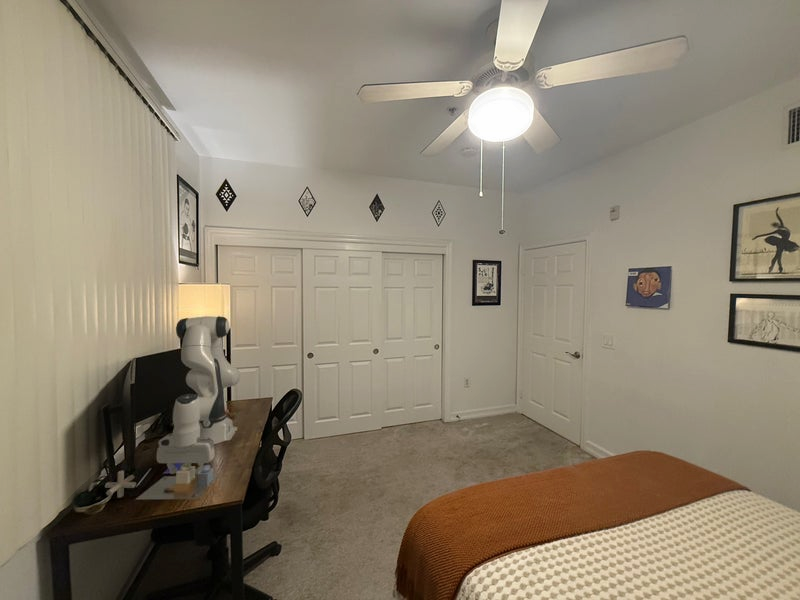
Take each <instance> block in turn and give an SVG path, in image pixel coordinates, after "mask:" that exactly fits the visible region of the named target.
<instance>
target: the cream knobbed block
mask: <svg viewBox="0 0 800 600" xmlns="http://www.w3.org/2000/svg"><path fill="white" fill-rule="evenodd" d="M195 469H196V466H195V465H193V466H192V463H185V464H183V465H181V469H180V470H179V471H177V472H176V473H175V476H176V484H188V483H189V482H190V481H191V480H193V479H194V478H195V476H196V474H195Z"/></svg>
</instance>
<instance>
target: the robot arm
mask: <svg viewBox="0 0 800 600" xmlns="http://www.w3.org/2000/svg"><path fill="white" fill-rule="evenodd" d="M229 331H230V322H229V320H228V318H226V316H221V315H220V316H219V315H218V316H211V315H210V316H209V315H208V316H206V315H205V316H198V317H197V316H196V317H190V318H189V317H185V318H181V319H179V321H177V323H176V326H175V333H176V336H177V338H178V339H180V340H182V343H181V350H180V351H181V352H180V358H181V363H183V364H184V365H185V367H187V368H189V369H190V370H189V371H188V372H187V373H186V377H185V383H186V385H187V386H188V387H189V388H191V389H192V390H193V391H194V392H195V393H196V394H195V393H185V394H182V395H180V396H179V397H177V398H176V399H175V402H174V405H173V407H172V415H171V420H172V423H173V425H174V426H173V430H172V433H169V434H167V435H165V436H164V437H162V438H161V439H159V440H158V447H157V450H156V461H157V463H158V464H166V466H167V469H168V468H169V469H170V473H169V474H170V475H176V472H177V467H175V466H174V464H173V463H191V464H197V466H198V467H196V468H195V475H196V474H200V473H201V471H202V466H204V465H205V464H208V463H210V462H211V461H213V459H215V447H214V446H215V445H217V444H220V443H223V442H227V441H230V440H232V438H233V436H234V435H235V433H236V432H237V431H238V427H237V426H234V424H233V423H234V422H233V420H232V419H231V418H229V417H228V416H227V414H228V413H229V410H230V409H227V406H228V403H227V400H226V399H227V398H226V397H225V394H224V392H225V391H224V388H230V387H234V386H236V385H237V384H238V383H239V382H240V379H241V373H240V371H239V369H238V368H237V367H235V366H233V365H232V364H231V363H230V362H229V361H228V360H227V358H226V356H225V353H224V346H223V338H225V337H226V336H227V335H228V334H229ZM235 431H236V432H235Z"/></svg>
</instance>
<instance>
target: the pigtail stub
mask: <svg viewBox="0 0 800 600" xmlns="http://www.w3.org/2000/svg"><path fill="white" fill-rule="evenodd" d="M196 487H197V477H195V478H194V479H193V480H191V481H190V482H189V483H188V484H176V483H175V484H174V488H165V489H164V491H174V495H189V494H190V493H191V492H192V491H193V490H194V489H195V488H196Z"/></svg>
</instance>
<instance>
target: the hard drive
mask: <svg viewBox="0 0 800 600" xmlns="http://www.w3.org/2000/svg"><path fill="white" fill-rule="evenodd" d="M173 464H174V466H175V467H177V471H179V470H180V469H181V465H183V464H185V463H173ZM164 474H170V469H169V468H168V467H167V469H166V470H165V471H164V472H163V473H162V475H164Z"/></svg>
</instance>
